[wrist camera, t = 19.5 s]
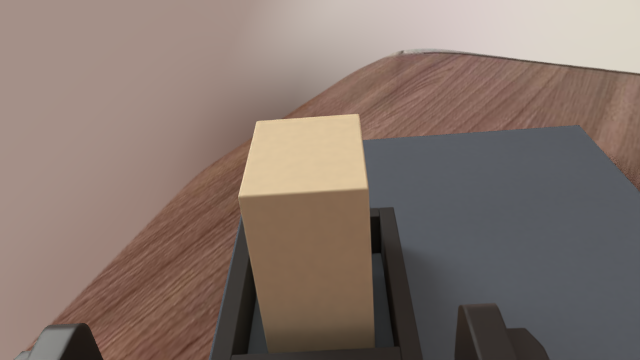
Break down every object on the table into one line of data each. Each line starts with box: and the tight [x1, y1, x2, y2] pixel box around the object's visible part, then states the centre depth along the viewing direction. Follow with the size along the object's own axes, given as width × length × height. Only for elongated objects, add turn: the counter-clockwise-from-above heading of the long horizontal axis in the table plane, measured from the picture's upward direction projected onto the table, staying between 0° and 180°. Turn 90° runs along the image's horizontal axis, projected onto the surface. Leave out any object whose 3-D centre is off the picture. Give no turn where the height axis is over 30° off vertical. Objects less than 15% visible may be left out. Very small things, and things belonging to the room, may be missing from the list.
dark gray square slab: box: [209, 125, 640, 360], centre depth 30 cm, size 24×23×4 cm
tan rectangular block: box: [238, 114, 375, 353], centre depth 23 cm, size 4×6×9 cm
